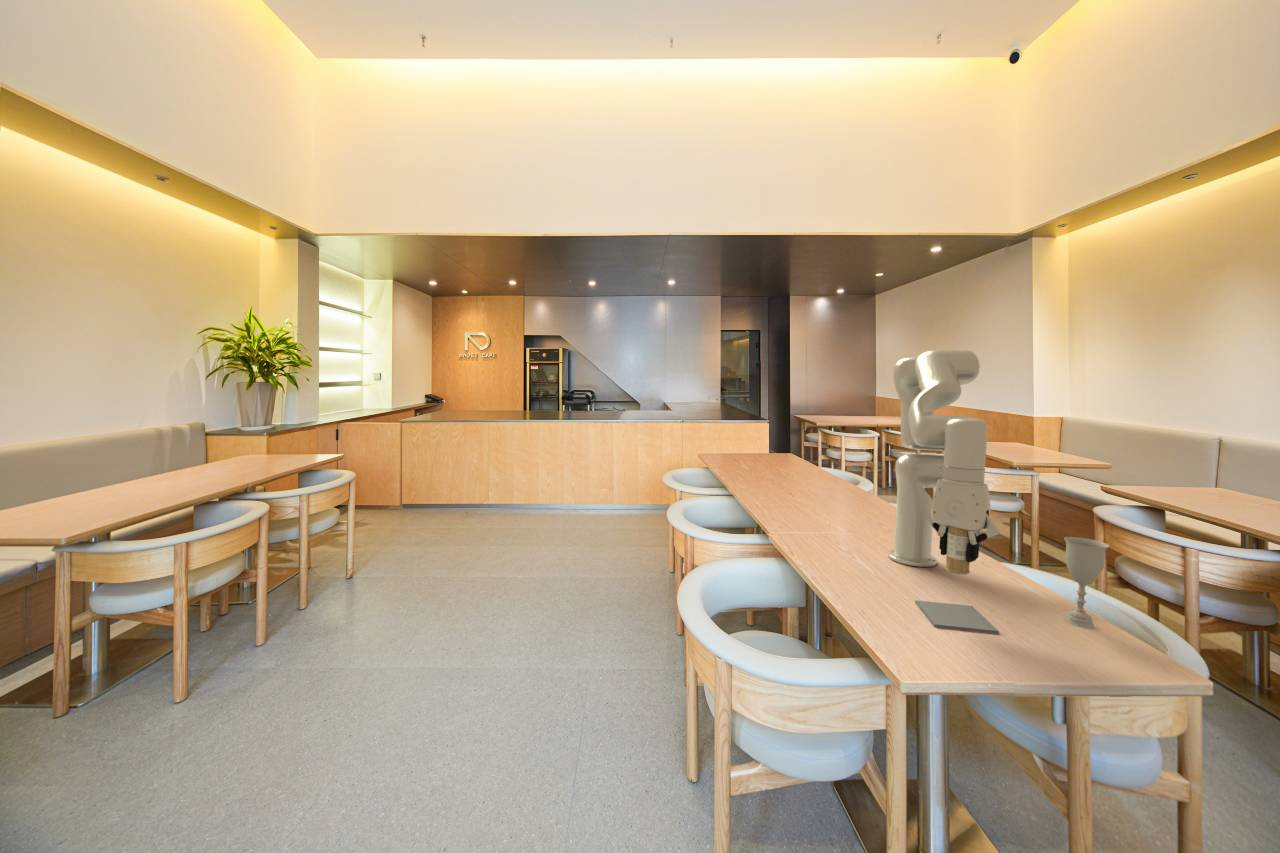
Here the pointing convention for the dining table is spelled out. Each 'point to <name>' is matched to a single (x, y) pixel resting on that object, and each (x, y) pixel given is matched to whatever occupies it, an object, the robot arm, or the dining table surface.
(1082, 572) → the chalice
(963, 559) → the sprinkles bottle
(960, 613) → the slate mat
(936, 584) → the dining table surface
